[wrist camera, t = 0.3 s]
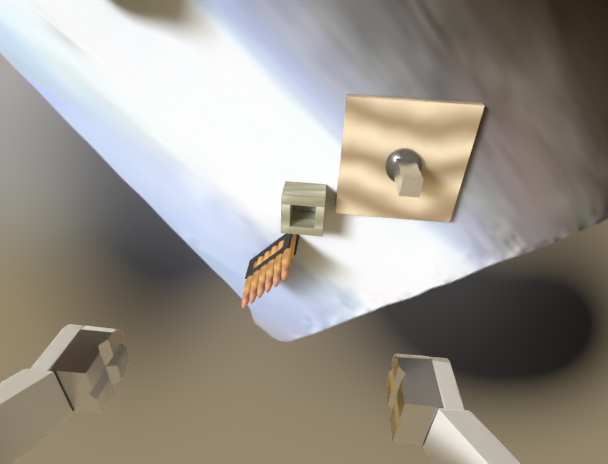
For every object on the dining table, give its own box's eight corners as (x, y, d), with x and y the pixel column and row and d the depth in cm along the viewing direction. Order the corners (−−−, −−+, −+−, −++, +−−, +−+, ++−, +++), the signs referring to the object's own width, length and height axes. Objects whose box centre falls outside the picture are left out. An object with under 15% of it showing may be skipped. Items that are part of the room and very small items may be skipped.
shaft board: (347, 93, 52) (348, 112, 45) (481, 102, 51) (505, 123, 44) (335, 208, 62) (334, 239, 54) (447, 217, 61) (462, 250, 54)
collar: (285, 181, 60) (281, 196, 56) (326, 184, 60) (325, 199, 56) (284, 216, 64) (281, 232, 59) (323, 219, 63) (322, 236, 59)
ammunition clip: (292, 228, 65) (283, 273, 55) (299, 235, 65) (292, 281, 55) (249, 260, 69) (234, 307, 59) (256, 266, 70) (243, 314, 60)
